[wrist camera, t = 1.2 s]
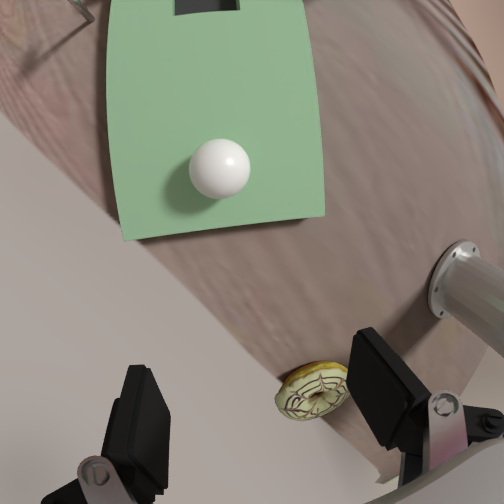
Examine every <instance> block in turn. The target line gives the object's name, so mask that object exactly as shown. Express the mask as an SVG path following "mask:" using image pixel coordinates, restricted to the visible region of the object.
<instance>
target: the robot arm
mask: <svg viewBox="0 0 504 504" xmlns="http://www.w3.org/2000/svg"><path fill="white" fill-rule="evenodd" d="M428 304H429V308H430V310H431V312H432V313H433V314H434V315H435V316H437V317H438V318H448V317H450V316H453V317H455V318H456V319H457V320H458V321H460V322H461V323H462V324H463V325H465V326H466V327H467V328H468V329H470V330H471V331H472V332H473V333H475V334H476V335H477V336H478V337H480V338H481V339H482V340H483V341H484V342H486V343H487V344H488V345H489V346H491V348H493V349H494V350H495V351H496V352H497V353H498V354H500V355H501V356H502V357H503V358H504V270H502V269H501V268H499V267H497V266H495V265H493V264H491V263H489V262H487V261H485V260H483V259H481V258H480V253H479V249H478V248H477V246H476V245H475V244H474V243H472V242H470V241H467V240H462V241H459V242H457V243H455V244H454V245H452V246H451V247H450V248H449V249H448V250H447V251H446V252H445V254H444V255H443V256H442V258H441V259H440V261H439V263H438V265H437V266H436V269H435V271H434V273H433V276H432V279H431V282H430V286H429V291H428ZM346 386H347V389H348V391H349V392H350V394H351V396H352V397H353V399H354V401H355V403H356V404H357V406H358V408H359V409H360V411H361V413H362V415H363V416H364V418H365V420H366V422H367V423H368V425H369V427H370V428H371V430H372V432H373V434H374V435H375V437H376V439H377V441H378V442H379V444H380V445H381V446H382V447H383V446H385V447H386V449H387V451H389V450H391V449H393V448H395V447H398V448H399V450H400V452H401V463H400V473H399V481H398V488H397V489H396V490H394V491H392V492H390V493H388V494H386V495H383V496H381V497H379V498H377V499H374V500H372V501H370V502H367V503H365V504H504V415H503V414H502V413H501V412H500V411H498V410H496V409H490V408H480V407H473V406H465V405H462V402H461V399H460V398H459V396H458V395H456V394H455V393H454V392H451V391H447V390H442V391H438V392H436V393H434V394H433V395H432V394H431V393H430V392H429V391H428V389H427V388H426V387H425V386H424V385H423V383H422V382H421V381H420V380H419V379H418V378H417V376H416V375H415V374H414V373H413V372H412V371H411V369H410V368H409V367H408V366H407V365H406V364H405V362H404V361H403V360H402V359H401V358H400V357H399V356H398V355H397V354H396V353H395V352H394V351H393V350H392V349H391V348H390V346H389V345H388V344H387V343H386V342H385V341H384V340H383V339H382V337H381V336H380V335H379V334H378V333H377V332H376V331H375V330H374V329H373V328H372V327H369V328H365V329H361V330H358V331H357V333H356V335H354V336H353V342H352V348H351V354H350V360H349V366H348V372H347V377H346ZM170 422H171V416H170V411H169V409H168V407H167V405H166V403H165V401H164V399H163V396H162V394H161V392H160V390H159V388H158V385H157V383H156V381H155V378H154V376H153V374H152V371H151V369H150V368H146V366H145V365H130V366H129V367H128V371H127V374H126V378H125V381H124V385H123V388H122V392H121V396H120V398H116V399H115V401H114V403H113V406H112V410H111V414H110V418H109V422H108V426H107V430H106V434H105V438H104V443H103V447H102V451H101V456H91V457H88V458H86V459H84V460H83V461H82V462H81V463H80V465H79V467H78V470H77V476H78V478H77V479H75V480H73V481H72V482H70V483H68V484H67V485H65V486H63V487H61V488H59V489H58V490H56V491H54V492H52V493H50V494H49V495H47V496H46V497H44V498H43V499H42V501H41V504H153V502H154V501H155V495H164V489H167V488H168V466H169V440H170Z"/></svg>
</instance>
